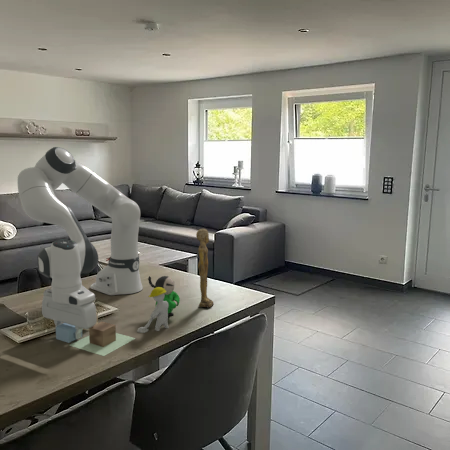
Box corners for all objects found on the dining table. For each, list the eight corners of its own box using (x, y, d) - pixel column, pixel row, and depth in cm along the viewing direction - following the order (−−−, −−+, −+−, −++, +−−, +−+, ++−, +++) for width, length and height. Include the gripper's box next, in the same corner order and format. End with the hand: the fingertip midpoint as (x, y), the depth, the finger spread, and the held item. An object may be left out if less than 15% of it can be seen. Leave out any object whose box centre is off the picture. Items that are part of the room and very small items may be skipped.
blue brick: (56, 341, 141) (55, 326, 141) (70, 335, 146) (69, 320, 145) (69, 345, 139) (68, 330, 138) (82, 339, 144) (82, 324, 143)
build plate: (68, 348, 137) (68, 345, 137) (102, 332, 149) (102, 329, 149) (103, 359, 131) (103, 355, 130) (135, 341, 143) (135, 338, 142)
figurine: (148, 323, 157) (147, 281, 154) (172, 327, 154) (172, 284, 151) (133, 335, 147) (132, 290, 144) (159, 339, 144) (158, 293, 142)
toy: (172, 323, 157) (171, 281, 154) (142, 319, 160) (141, 278, 158) (182, 313, 166) (182, 274, 163) (154, 310, 169) (154, 271, 167)
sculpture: (210, 309, 171) (211, 230, 165) (194, 308, 172) (194, 229, 167) (214, 303, 177) (215, 227, 172) (198, 302, 178) (199, 226, 173)
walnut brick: (89, 343, 139) (89, 327, 138) (102, 336, 143) (102, 321, 142) (103, 347, 136) (102, 331, 135) (115, 340, 141) (115, 324, 140)
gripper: (35, 290, 142) (38, 332, 144) (83, 301, 132) (85, 346, 135) (51, 284, 147) (54, 325, 150) (99, 295, 138) (100, 338, 140)
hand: (69, 335), depth 142 cm, fingers closed on blue brick, 5 cm apart
